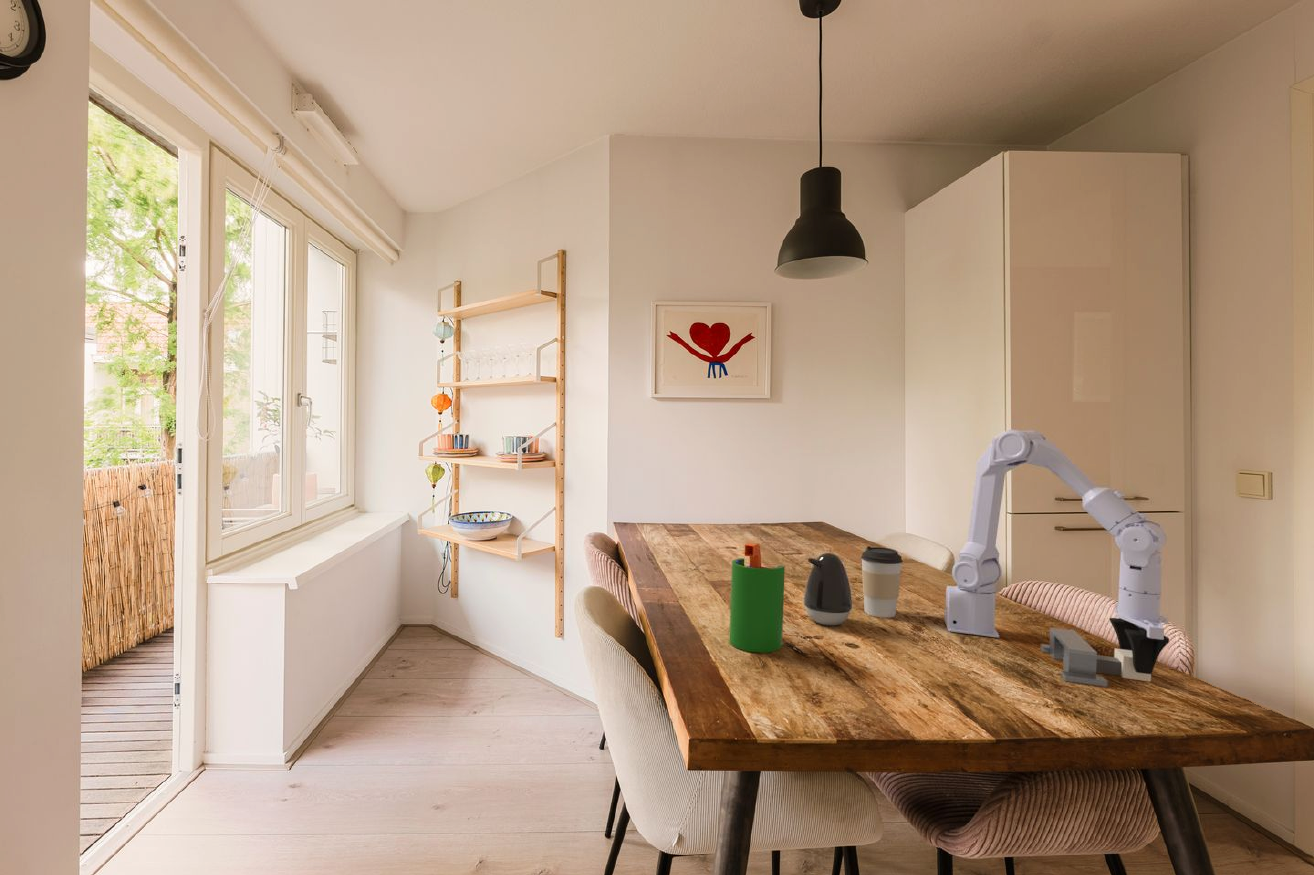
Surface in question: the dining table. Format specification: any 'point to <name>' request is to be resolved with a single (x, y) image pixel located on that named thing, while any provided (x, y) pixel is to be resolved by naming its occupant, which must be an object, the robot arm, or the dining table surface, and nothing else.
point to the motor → (756, 604)
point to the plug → (1120, 665)
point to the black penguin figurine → (828, 591)
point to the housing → (1074, 657)
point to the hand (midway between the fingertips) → (1136, 666)
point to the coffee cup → (881, 581)
